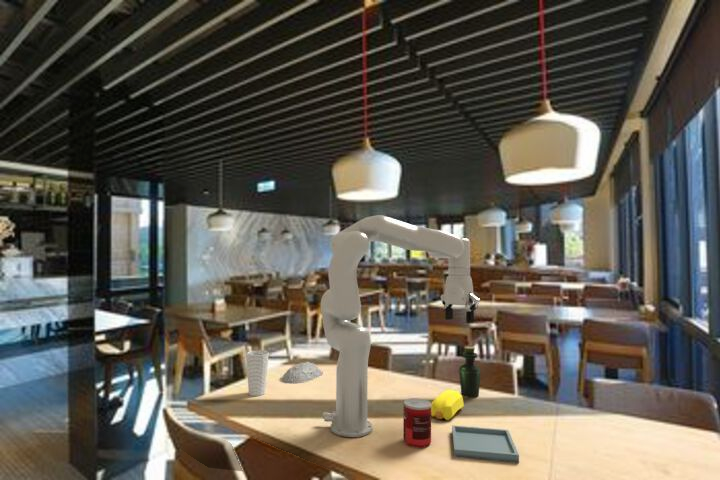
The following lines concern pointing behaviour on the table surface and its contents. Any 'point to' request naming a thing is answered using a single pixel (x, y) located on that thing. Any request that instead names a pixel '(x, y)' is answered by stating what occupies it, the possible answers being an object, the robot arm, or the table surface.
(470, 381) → the potion bottle
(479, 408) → the table surface
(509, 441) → the tray
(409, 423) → the canned food
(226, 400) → the table surface
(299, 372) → the grey rock
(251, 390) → the cup
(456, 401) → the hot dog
